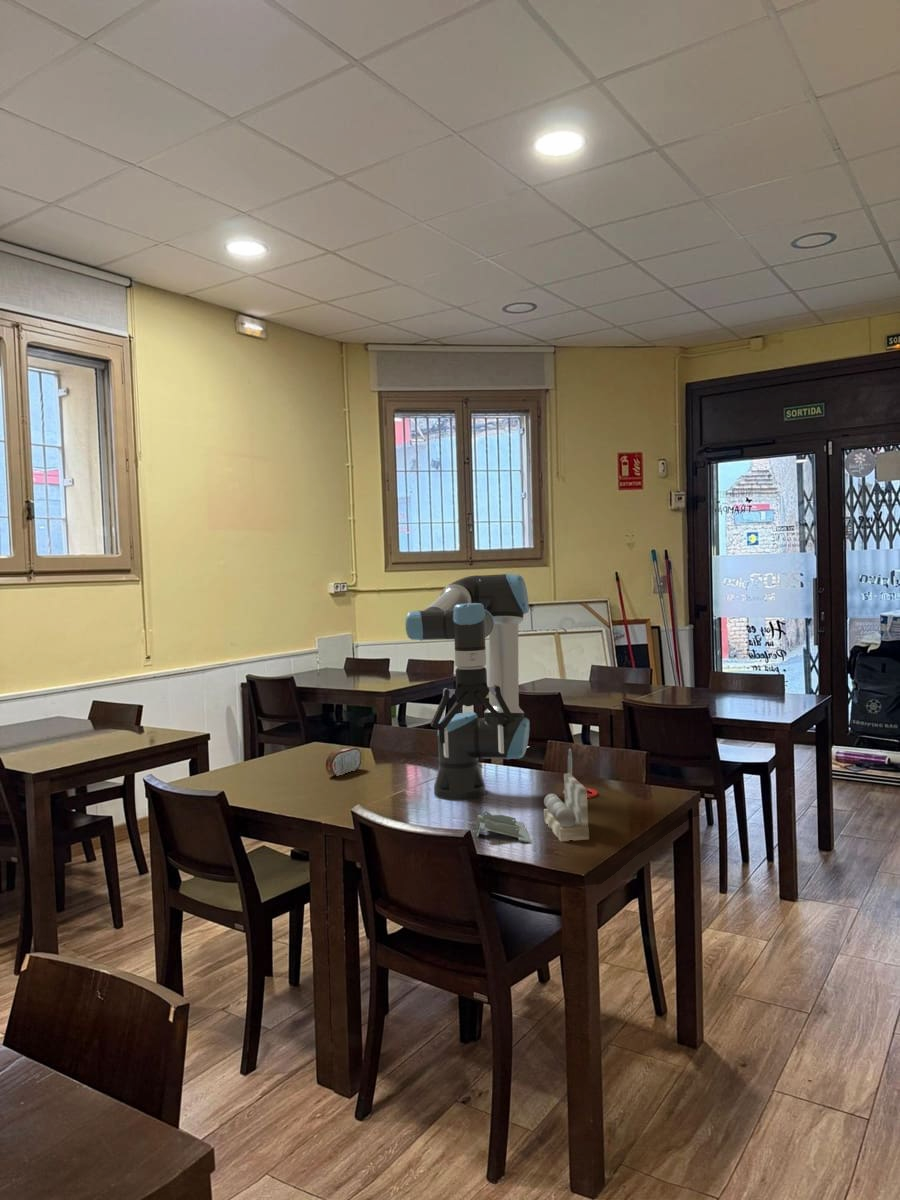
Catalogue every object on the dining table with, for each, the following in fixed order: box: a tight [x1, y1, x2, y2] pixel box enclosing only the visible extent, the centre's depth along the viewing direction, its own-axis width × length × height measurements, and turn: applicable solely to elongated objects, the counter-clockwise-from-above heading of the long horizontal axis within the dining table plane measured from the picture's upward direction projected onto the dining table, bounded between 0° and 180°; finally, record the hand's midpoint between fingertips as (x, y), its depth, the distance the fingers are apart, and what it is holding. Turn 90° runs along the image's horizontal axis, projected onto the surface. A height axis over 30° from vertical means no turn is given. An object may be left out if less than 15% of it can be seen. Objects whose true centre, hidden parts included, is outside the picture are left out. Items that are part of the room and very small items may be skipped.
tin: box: [325, 746, 362, 777], centre depth 271 cm, size 15×3×8 cm, turn 144°
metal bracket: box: [472, 810, 532, 843], centre depth 203 cm, size 14×6×15 cm
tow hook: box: [561, 748, 598, 797], centre depth 236 cm, size 8×13×9 cm
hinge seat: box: [543, 772, 590, 842], centre depth 205 cm, size 17×7×12 cm, turn 7°
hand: (473, 754), depth 199 cm, fingers open, 13 cm apart
